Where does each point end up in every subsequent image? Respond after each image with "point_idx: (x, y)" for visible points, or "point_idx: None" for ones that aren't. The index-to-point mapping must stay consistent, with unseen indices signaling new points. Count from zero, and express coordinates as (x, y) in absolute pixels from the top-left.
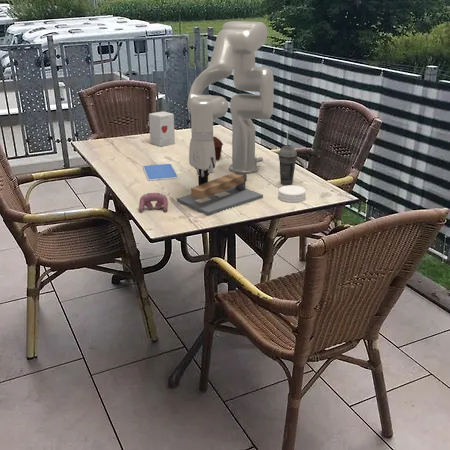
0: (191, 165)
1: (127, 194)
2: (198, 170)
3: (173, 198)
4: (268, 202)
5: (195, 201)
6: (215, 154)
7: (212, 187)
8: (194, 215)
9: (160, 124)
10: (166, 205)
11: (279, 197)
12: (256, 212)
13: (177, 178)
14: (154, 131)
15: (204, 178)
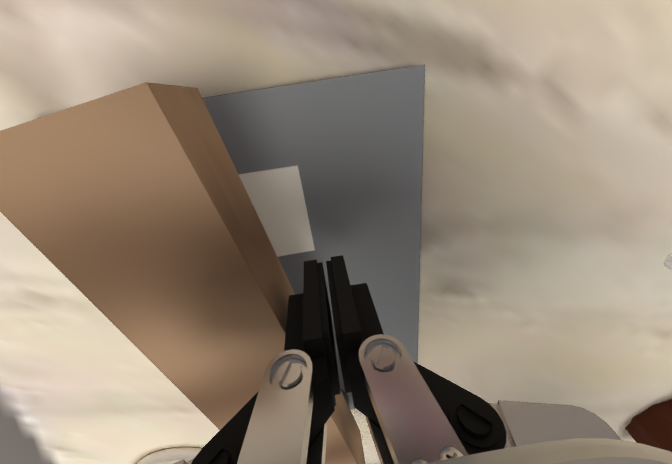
0: (590, 458)
1: None
2: (387, 411)
3: (477, 80)
4: (166, 417)
5: (284, 159)
6: (657, 447)
7: (112, 316)
8: (65, 22)
9: None
10: None
11: (183, 455)
12: (49, 354)
13: (666, 260)
14: None
15: (284, 348)
